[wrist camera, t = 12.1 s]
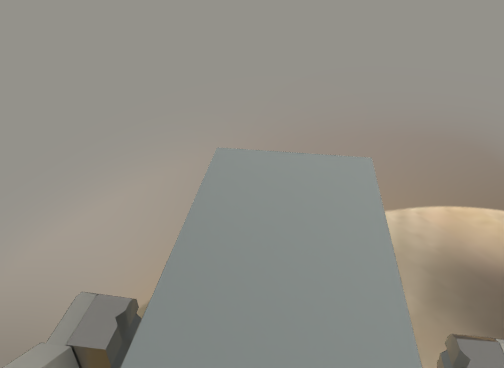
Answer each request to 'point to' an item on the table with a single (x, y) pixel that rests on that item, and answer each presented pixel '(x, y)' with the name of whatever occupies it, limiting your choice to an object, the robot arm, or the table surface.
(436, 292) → the table surface
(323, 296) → the tall grey rectangular block
